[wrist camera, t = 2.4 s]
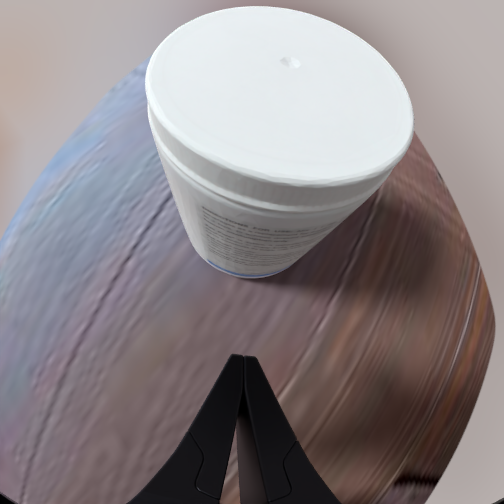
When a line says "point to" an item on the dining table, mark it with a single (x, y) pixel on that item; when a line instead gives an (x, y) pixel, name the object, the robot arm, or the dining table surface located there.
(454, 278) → the dining table surface
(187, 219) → the supplement tub
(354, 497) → the dining table surface
